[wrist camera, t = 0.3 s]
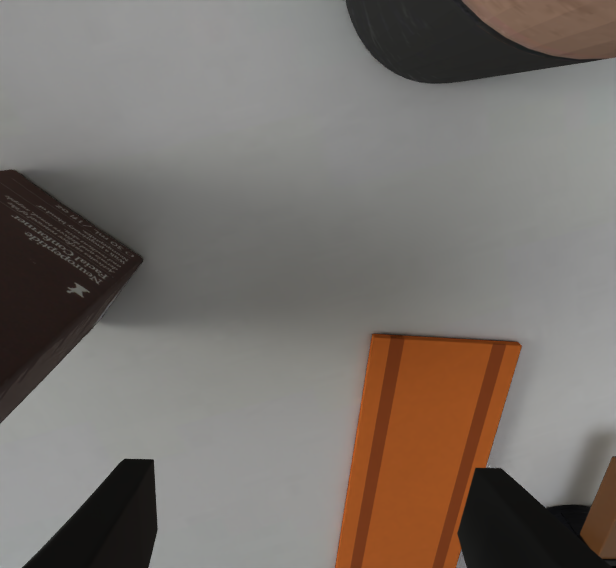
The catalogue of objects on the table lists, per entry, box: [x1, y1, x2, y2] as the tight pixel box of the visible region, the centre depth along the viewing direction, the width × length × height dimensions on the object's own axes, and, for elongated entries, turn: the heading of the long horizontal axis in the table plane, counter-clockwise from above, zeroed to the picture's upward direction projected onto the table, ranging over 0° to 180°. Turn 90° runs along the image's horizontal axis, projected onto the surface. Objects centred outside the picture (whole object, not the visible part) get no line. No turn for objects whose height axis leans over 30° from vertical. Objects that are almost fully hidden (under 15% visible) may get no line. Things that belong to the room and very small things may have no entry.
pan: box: [546, 456, 616, 568], centre depth 23 cm, size 13×8×3 cm, turn 175°
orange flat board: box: [335, 334, 522, 568], centre depth 23 cm, size 20×7×1 cm, turn 175°
